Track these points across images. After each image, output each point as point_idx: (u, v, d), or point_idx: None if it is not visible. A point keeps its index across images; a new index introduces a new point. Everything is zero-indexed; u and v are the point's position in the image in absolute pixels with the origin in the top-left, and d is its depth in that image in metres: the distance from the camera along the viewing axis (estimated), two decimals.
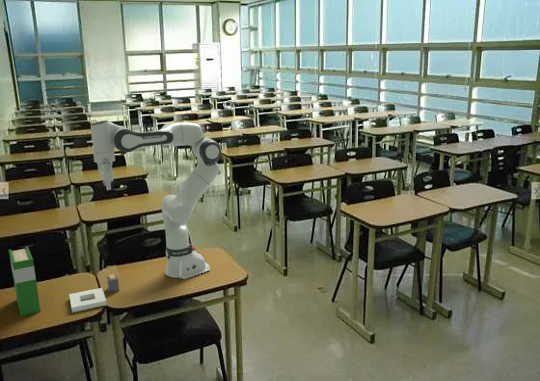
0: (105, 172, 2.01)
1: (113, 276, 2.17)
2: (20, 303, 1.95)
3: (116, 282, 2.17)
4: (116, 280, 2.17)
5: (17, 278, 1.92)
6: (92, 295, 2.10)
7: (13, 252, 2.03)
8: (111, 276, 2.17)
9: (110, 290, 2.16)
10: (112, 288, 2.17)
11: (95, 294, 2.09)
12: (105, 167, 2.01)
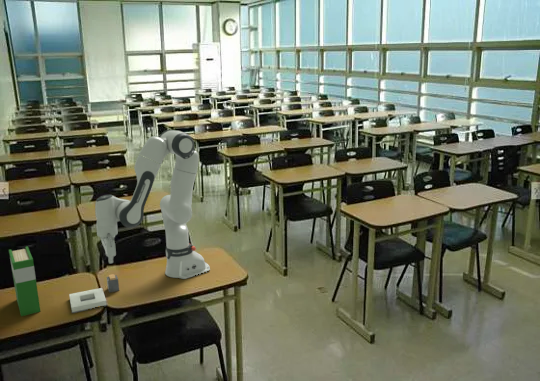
0: (108, 248, 2.04)
1: (113, 276, 2.17)
2: (20, 303, 1.95)
3: (116, 282, 2.17)
4: (116, 280, 2.17)
5: (17, 278, 1.92)
6: (92, 295, 2.10)
7: (13, 252, 2.03)
8: (111, 276, 2.17)
9: (110, 290, 2.16)
10: (112, 288, 2.17)
11: (95, 294, 2.09)
12: (108, 243, 2.04)
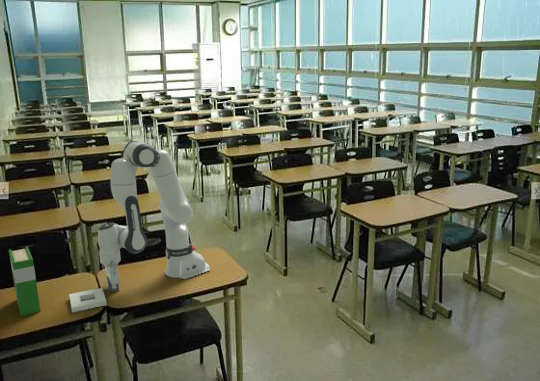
0: (111, 276, 2.07)
1: None
2: (20, 303, 1.95)
3: None
4: None
5: (17, 278, 1.92)
6: (92, 295, 2.10)
7: (13, 252, 2.03)
8: None
9: (110, 290, 2.16)
10: None
11: (95, 294, 2.09)
12: (111, 271, 2.07)
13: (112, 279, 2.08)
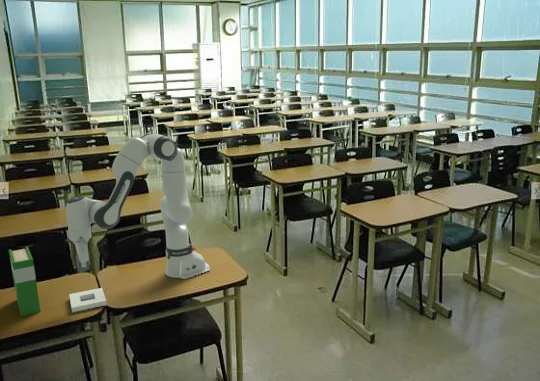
0: (80, 253, 1.91)
1: None
2: (20, 303, 1.95)
3: None
4: None
5: (17, 278, 1.92)
6: (92, 295, 2.10)
7: (13, 252, 2.03)
8: None
9: (79, 269, 2.00)
10: (82, 267, 2.00)
11: (95, 294, 2.09)
12: (80, 247, 1.91)
13: (81, 256, 1.92)
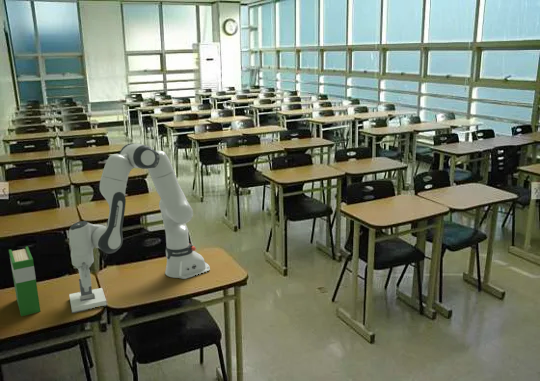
0: (82, 278, 1.94)
1: None
2: (20, 303, 1.95)
3: None
4: None
5: (17, 278, 1.92)
6: (92, 295, 2.10)
7: (13, 252, 2.03)
8: None
9: (82, 293, 2.03)
10: (84, 291, 2.03)
11: (95, 294, 2.09)
12: (82, 273, 1.94)
13: (83, 282, 1.94)
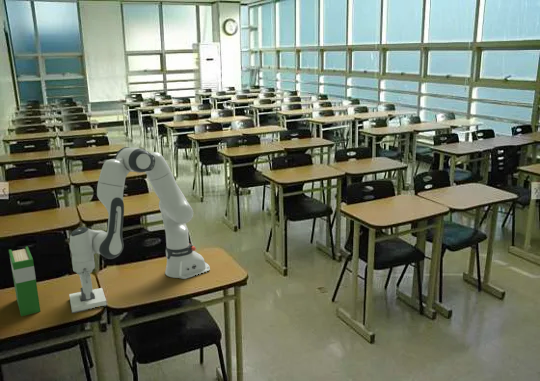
0: (84, 284, 1.95)
1: None
2: (20, 303, 1.95)
3: (90, 293, 2.05)
4: None
5: (17, 278, 1.92)
6: None
7: (13, 252, 2.03)
8: None
9: None
10: (86, 300, 2.04)
11: (95, 294, 2.09)
12: (84, 279, 1.95)
13: (85, 288, 1.95)
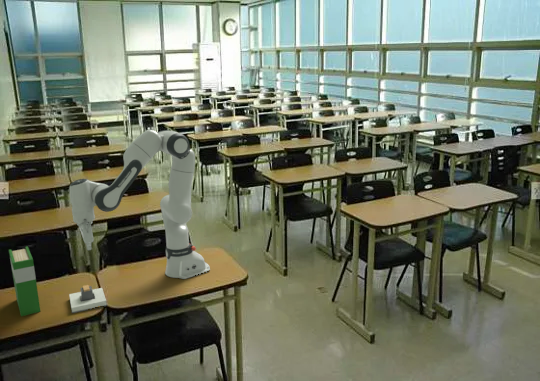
0: (84, 234, 1.96)
1: (87, 287, 2.05)
2: (20, 303, 1.95)
3: (90, 293, 2.05)
4: (90, 291, 2.04)
5: (17, 278, 1.92)
6: None
7: (13, 252, 2.03)
8: (85, 287, 2.05)
9: None
10: (86, 300, 2.04)
11: (95, 294, 2.09)
12: (84, 229, 1.96)
13: (85, 237, 1.96)
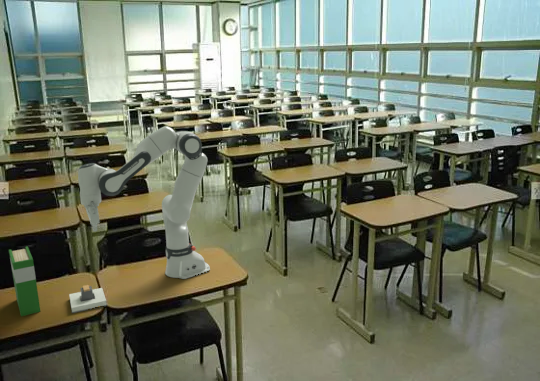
0: (91, 215, 2.05)
1: (87, 287, 2.05)
2: (20, 303, 1.95)
3: (90, 293, 2.05)
4: (90, 291, 2.04)
5: (17, 278, 1.92)
6: None
7: (13, 252, 2.03)
8: (85, 287, 2.05)
9: None
10: (86, 300, 2.04)
11: (95, 294, 2.09)
12: (91, 210, 2.05)
13: (92, 218, 2.05)
